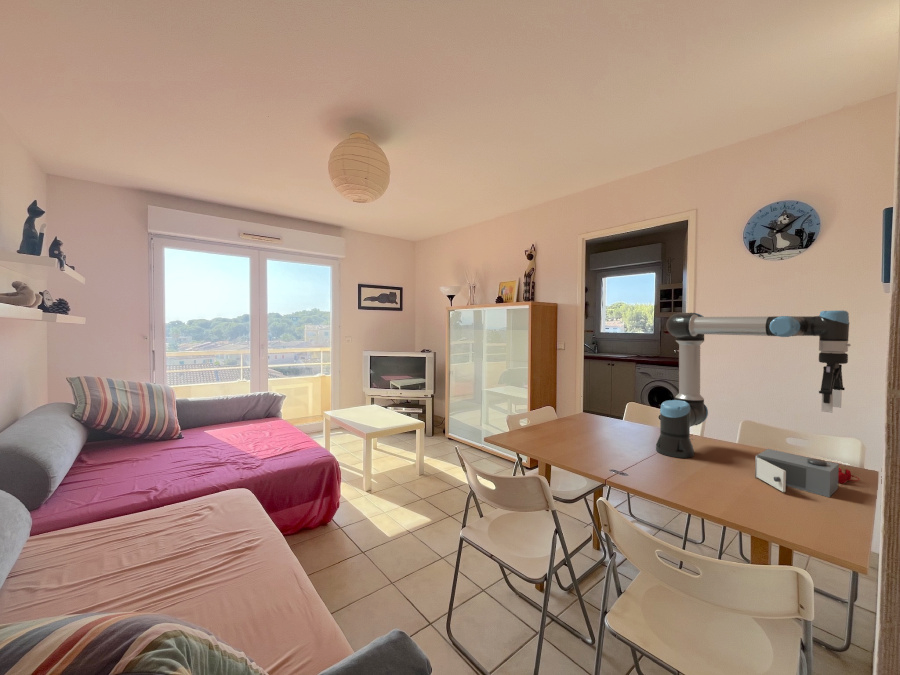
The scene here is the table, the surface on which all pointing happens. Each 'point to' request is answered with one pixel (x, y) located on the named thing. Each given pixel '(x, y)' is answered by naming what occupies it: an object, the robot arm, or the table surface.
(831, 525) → the table surface
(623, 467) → the table surface
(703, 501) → the table surface
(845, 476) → the alarm clock
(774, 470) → the door
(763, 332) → the robot arm
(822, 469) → the case
